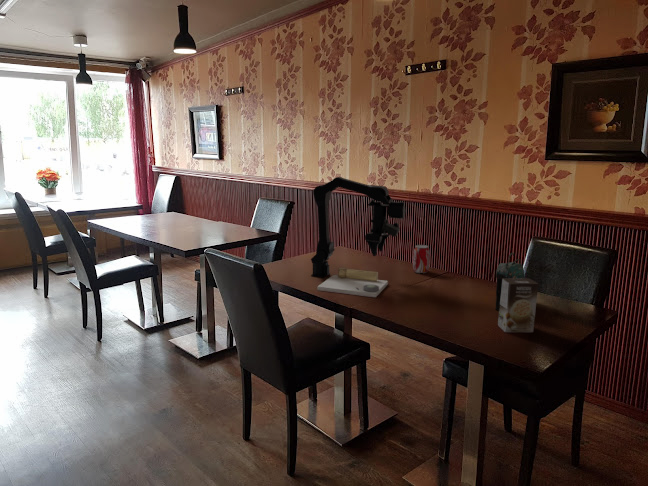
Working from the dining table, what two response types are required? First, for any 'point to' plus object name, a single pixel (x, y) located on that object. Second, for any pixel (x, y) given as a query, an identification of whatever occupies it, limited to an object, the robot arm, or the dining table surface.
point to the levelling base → (353, 286)
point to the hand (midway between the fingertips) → (377, 253)
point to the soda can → (421, 259)
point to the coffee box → (517, 304)
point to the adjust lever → (357, 274)
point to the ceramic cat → (507, 276)
